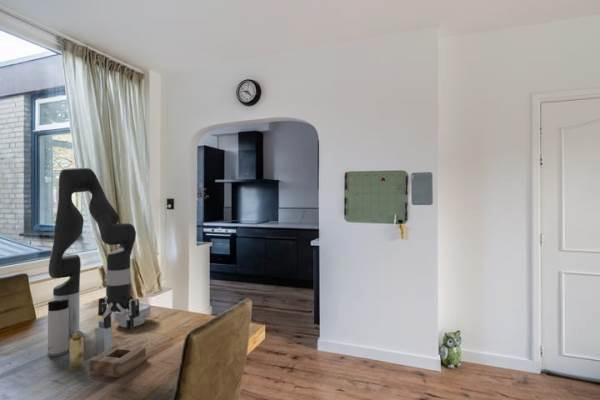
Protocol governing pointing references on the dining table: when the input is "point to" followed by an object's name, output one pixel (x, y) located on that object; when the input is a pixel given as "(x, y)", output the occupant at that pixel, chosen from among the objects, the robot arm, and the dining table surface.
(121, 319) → the white patterned bowl
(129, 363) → the socket block
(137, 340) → the dining table surface
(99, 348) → the square bit
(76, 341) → the round bit
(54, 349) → the travel mug
